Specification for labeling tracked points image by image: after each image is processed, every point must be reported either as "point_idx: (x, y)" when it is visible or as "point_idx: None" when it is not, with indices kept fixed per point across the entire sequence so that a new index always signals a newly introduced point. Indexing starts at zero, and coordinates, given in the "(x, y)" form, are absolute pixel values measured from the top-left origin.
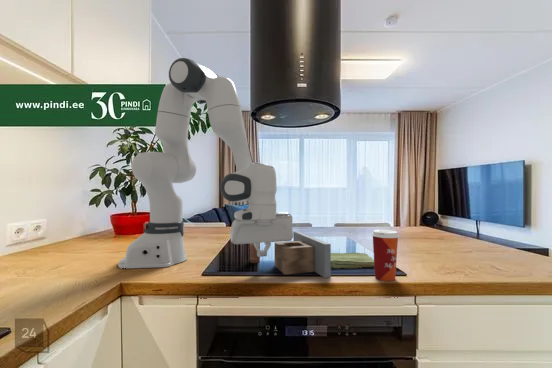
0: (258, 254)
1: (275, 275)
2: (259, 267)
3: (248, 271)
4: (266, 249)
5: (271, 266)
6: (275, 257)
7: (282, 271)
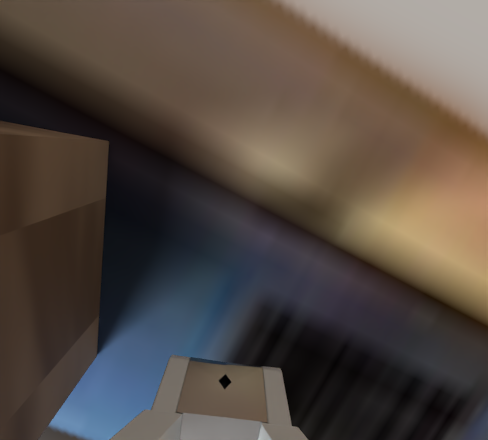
0: (284, 389)
1: (182, 159)
2: None
3: (314, 325)
4: (157, 435)
5: (123, 353)
6: (53, 397)
7: (100, 191)
